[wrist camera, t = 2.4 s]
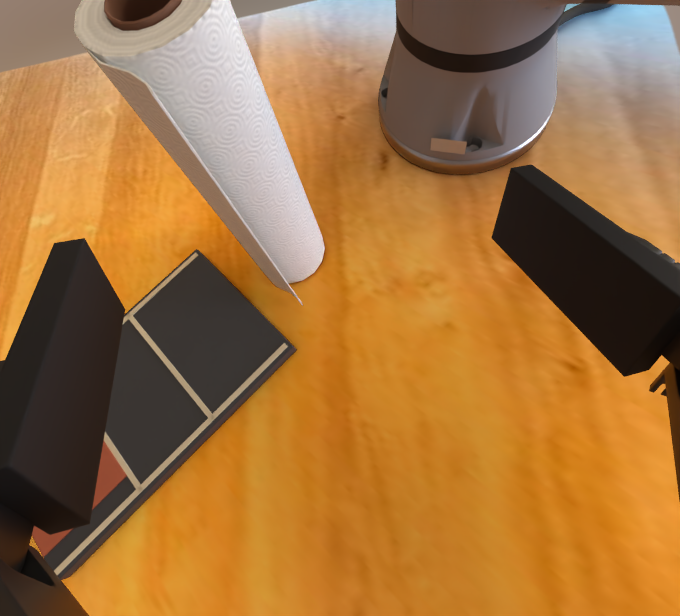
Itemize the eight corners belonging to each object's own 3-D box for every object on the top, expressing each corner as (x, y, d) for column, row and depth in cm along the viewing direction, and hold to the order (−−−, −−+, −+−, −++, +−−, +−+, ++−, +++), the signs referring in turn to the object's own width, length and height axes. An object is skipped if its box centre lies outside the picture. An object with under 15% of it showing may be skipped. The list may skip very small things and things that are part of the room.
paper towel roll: (276, 216, 37) (121, -64, 17) (336, 233, 35) (244, -54, 15) (241, 284, 35) (20, 61, 15) (303, 306, 33) (148, 89, 13)
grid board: (203, 254, 37) (195, 247, 35) (297, 349, 32) (292, 345, 31) (-4, 443, 33) (-20, 442, 32) (69, 577, 29) (53, 583, 28)
